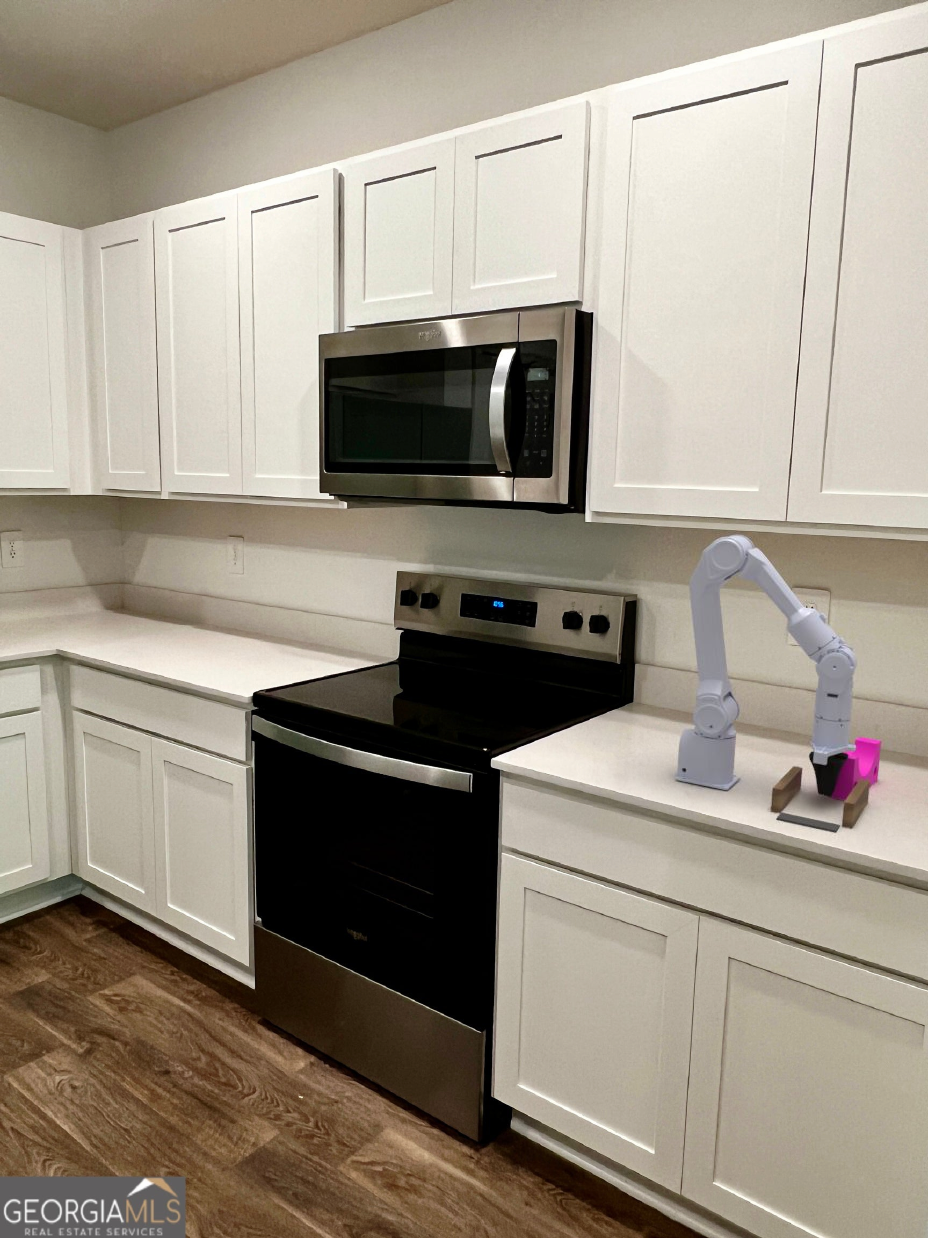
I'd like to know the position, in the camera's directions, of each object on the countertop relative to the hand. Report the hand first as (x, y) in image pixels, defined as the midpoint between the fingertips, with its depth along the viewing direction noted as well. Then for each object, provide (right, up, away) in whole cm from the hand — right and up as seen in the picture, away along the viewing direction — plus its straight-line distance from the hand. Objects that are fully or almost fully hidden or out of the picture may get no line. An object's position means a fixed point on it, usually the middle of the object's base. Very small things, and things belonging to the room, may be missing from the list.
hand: (825, 794), depth 153 cm
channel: (-2, -2, -3) cm, 4 cm away
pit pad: (-7, -3, -10) cm, 12 cm away
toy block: (+7, 0, +8) cm, 10 cm away
